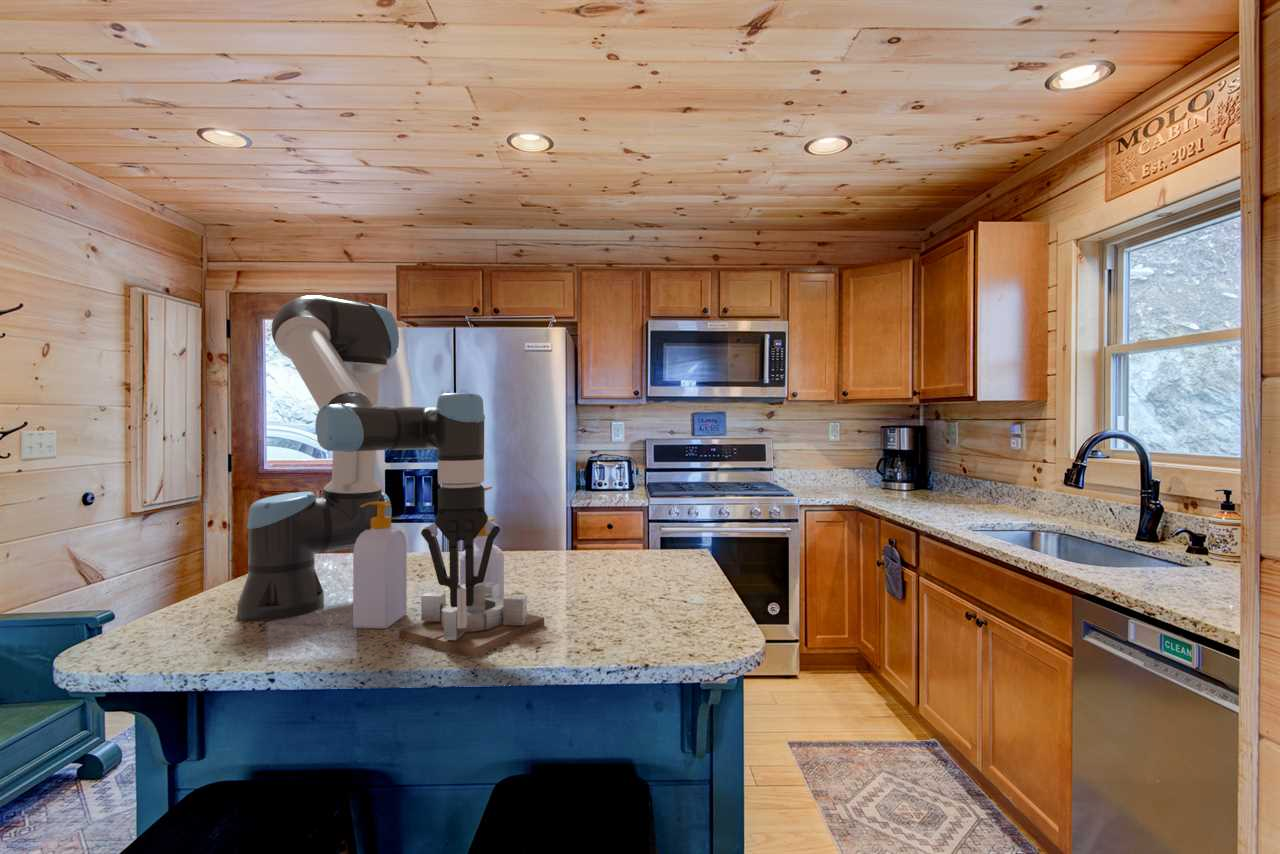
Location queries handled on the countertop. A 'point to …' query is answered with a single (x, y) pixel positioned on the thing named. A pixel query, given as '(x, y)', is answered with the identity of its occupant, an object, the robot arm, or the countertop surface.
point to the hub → (471, 640)
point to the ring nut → (495, 612)
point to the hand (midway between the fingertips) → (462, 625)
